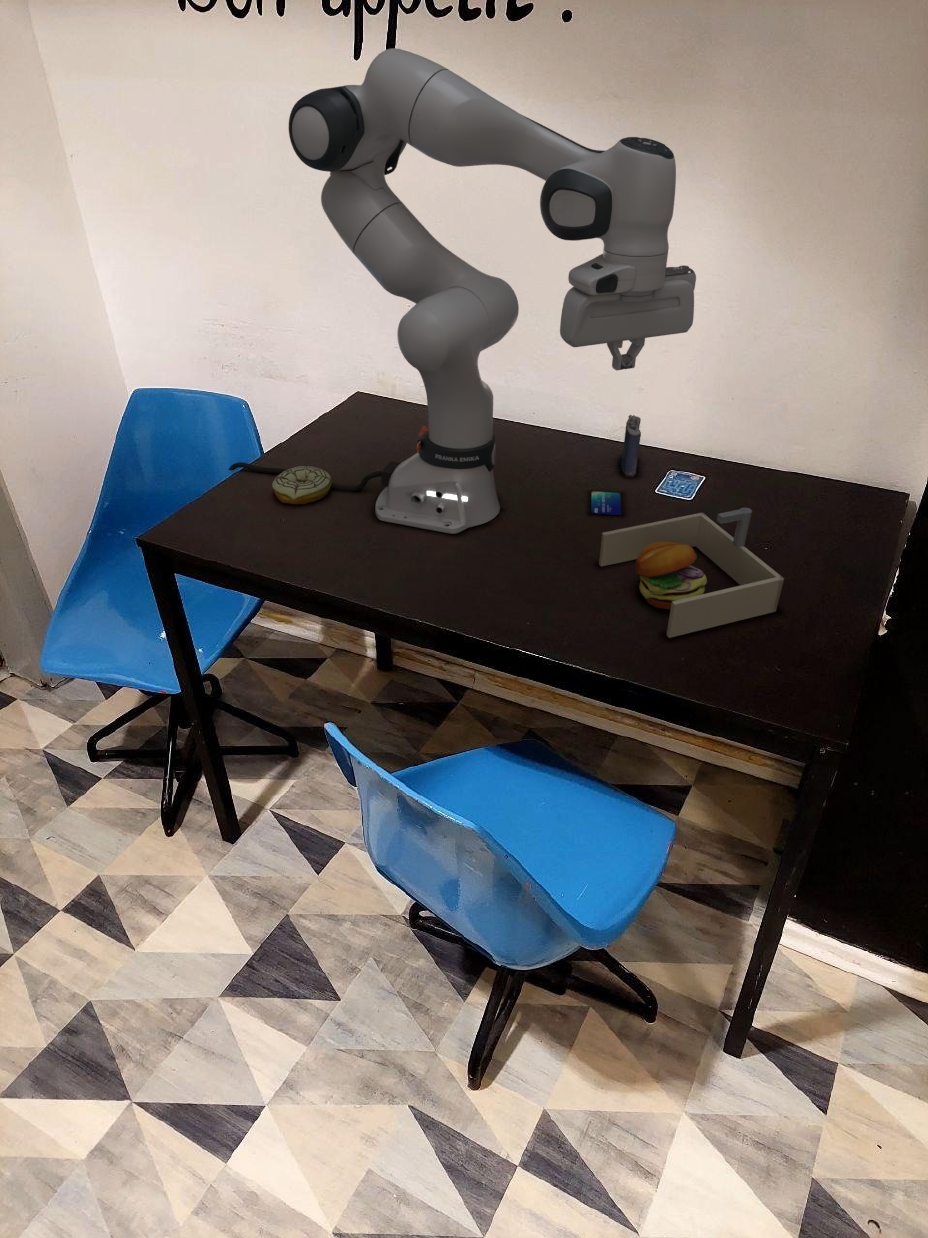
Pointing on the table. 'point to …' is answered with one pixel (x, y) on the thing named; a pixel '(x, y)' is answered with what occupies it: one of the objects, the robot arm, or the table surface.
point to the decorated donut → (301, 485)
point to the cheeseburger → (669, 573)
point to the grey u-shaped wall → (722, 549)
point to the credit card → (605, 503)
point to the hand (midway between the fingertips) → (623, 368)
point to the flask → (631, 446)
